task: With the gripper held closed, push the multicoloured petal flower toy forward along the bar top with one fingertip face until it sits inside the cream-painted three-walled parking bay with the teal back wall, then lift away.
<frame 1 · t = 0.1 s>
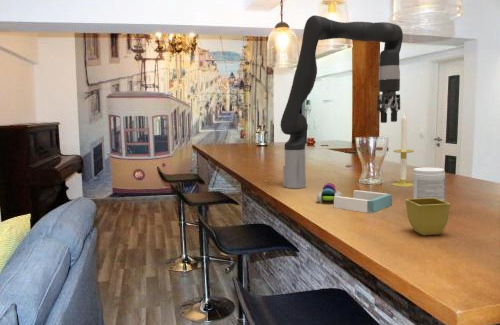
hand: (388, 122, 162), 29 cm above the table, fingers open, 8 cm apart
flower pot: (426, 233, 119), on the table
multicoloured petal flower toy: (329, 202, 163), on the table
bay: (362, 206, 153), on the table
candle: (403, 185, 193), on the table
supplement tub: (428, 214, 140), on the table
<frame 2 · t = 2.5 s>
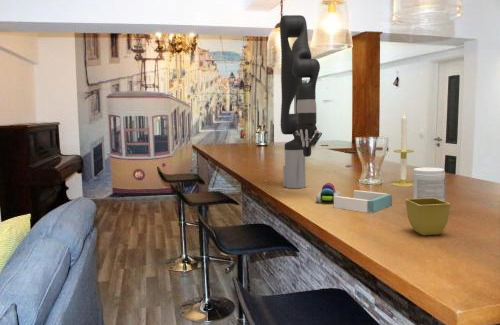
hand: (307, 156, 168), 17 cm above the table, fingers closed
nothing on the table moved.
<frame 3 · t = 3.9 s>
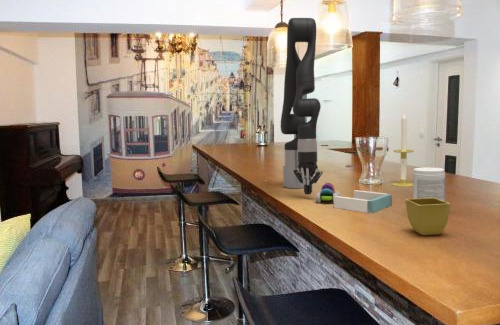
hand: (308, 194, 169), 2 cm above the table, fingers closed
nothing on the table moved.
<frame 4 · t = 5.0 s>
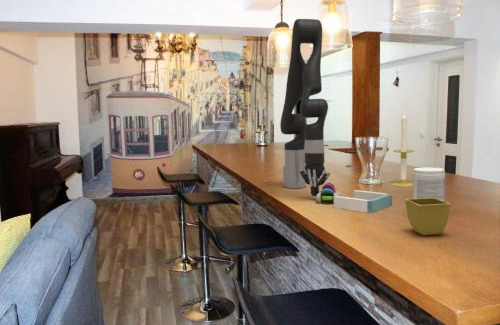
hand: (314, 195, 167), 2 cm above the table, fingers closed
multicoloured petal flower toy: (328, 202, 163), on the table, touching gripper
everything else where it was.
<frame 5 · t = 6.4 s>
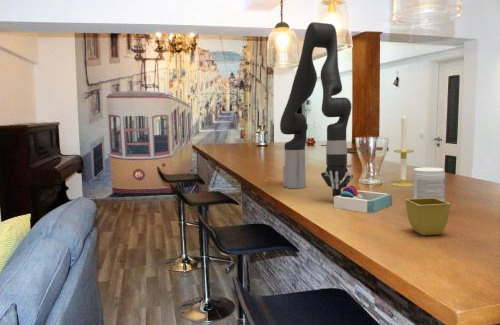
hand: (336, 198, 160), 2 cm above the table, fingers closed
multicoloured petal flower toy: (349, 206, 156), on the table, touching gripper
everything else where it was.
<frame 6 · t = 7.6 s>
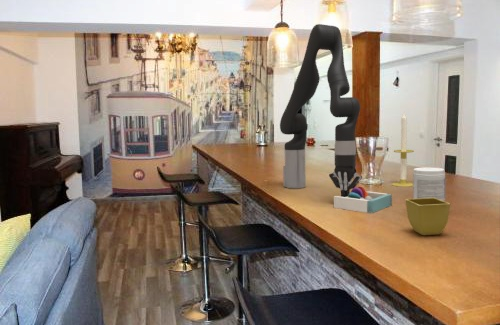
hand: (345, 199, 158), 2 cm above the table, fingers closed
multicoloured petal flower toy: (358, 207, 153), on the table, touching gripper
everything else where it was.
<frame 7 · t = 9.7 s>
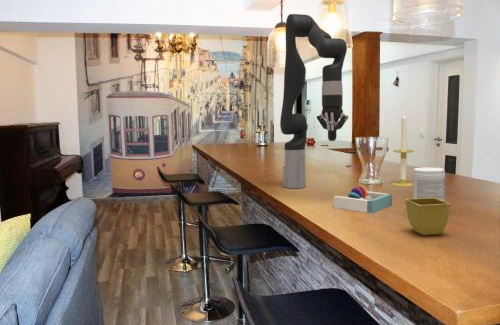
hand: (332, 140, 161), 23 cm above the table, fingers closed
multicoloured petal flower toy: (357, 207, 153), on the table
everything else where it was.
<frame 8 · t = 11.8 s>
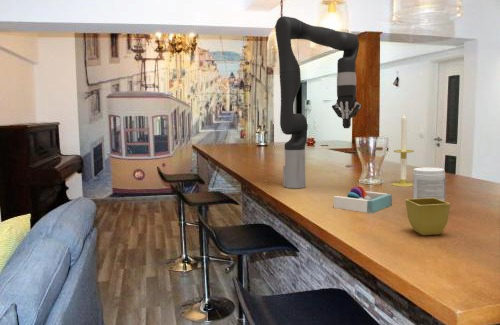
hand: (346, 128, 173), 27 cm above the table, fingers closed
nothing on the table moved.
at the end: multicoloured petal flower toy inside the target area on the bay (1.6 cm from its centre), point 0.0 cm above the bay's base; multicoloured petal flower toy tilted 0°; multicoloured petal flower toy touching table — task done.
